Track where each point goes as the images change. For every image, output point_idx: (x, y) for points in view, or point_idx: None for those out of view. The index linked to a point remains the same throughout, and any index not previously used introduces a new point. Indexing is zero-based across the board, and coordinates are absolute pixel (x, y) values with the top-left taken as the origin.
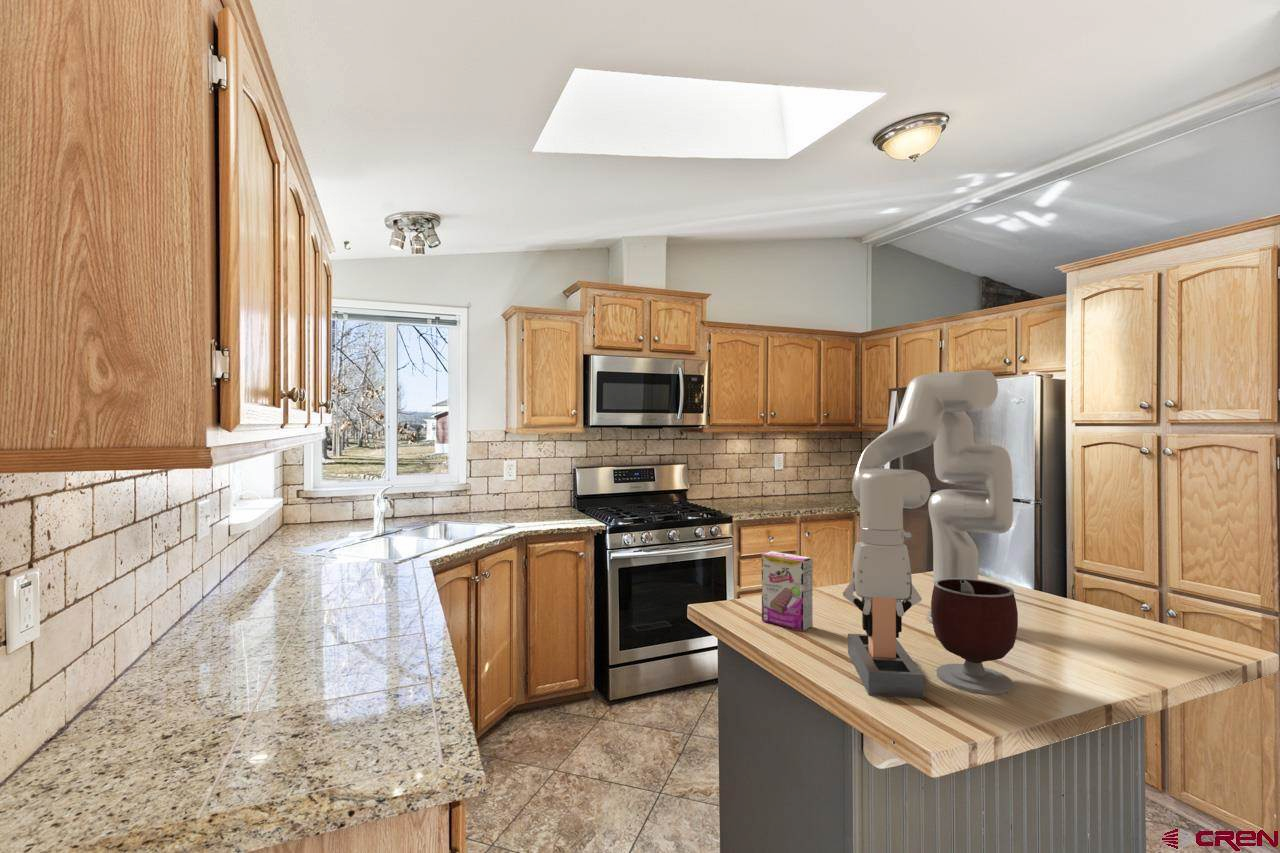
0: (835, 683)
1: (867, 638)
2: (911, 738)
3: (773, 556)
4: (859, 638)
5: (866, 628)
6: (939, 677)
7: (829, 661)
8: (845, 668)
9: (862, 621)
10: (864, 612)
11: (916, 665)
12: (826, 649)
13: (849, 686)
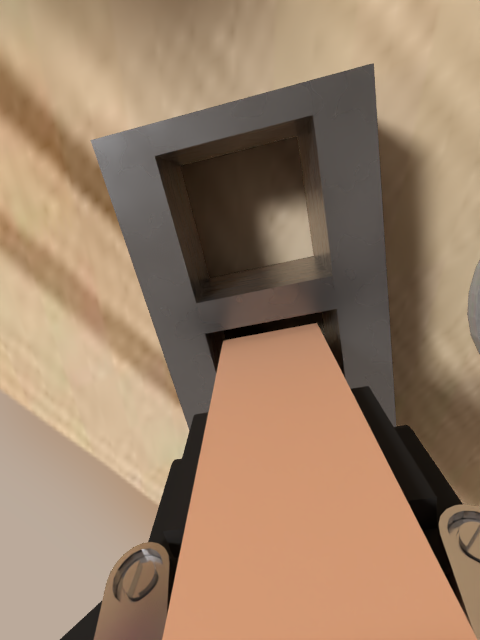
0: (143, 448)
1: (208, 143)
2: None
3: None
4: (166, 213)
5: None
6: (472, 322)
7: (86, 285)
8: (151, 332)
9: (166, 492)
10: None
11: None
12: (35, 138)
13: (182, 454)
